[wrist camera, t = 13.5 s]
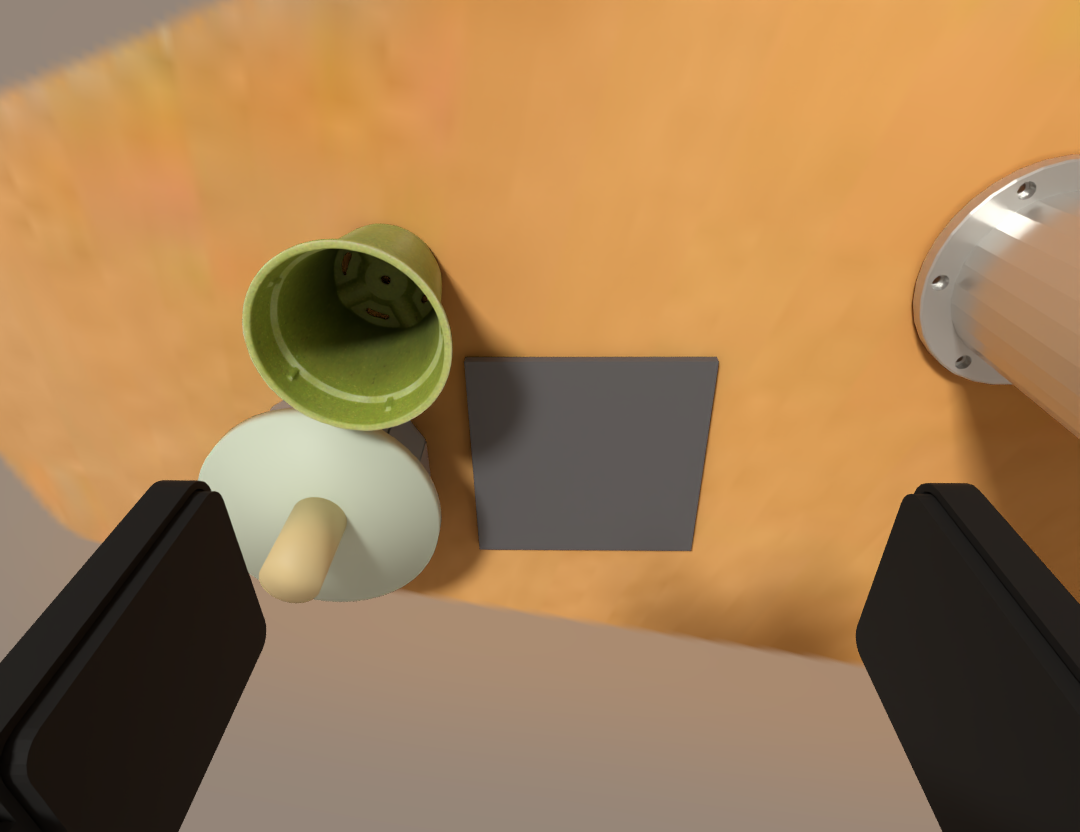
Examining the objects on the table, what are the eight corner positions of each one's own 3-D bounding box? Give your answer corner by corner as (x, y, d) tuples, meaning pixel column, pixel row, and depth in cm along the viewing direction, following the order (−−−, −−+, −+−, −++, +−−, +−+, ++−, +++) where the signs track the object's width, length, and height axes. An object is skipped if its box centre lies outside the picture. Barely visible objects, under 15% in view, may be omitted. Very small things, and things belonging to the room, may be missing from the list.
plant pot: (493, 225, 35) (477, 283, 28) (448, 371, 40) (424, 453, 32) (319, 165, 34) (253, 208, 26) (294, 324, 38) (232, 398, 31)
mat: (716, 357, 39) (718, 361, 38) (689, 544, 47) (690, 550, 46) (465, 357, 39) (464, 361, 39) (480, 543, 47) (479, 549, 47)
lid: (428, 407, 35) (406, 474, 30) (451, 590, 43) (436, 669, 38) (173, 407, 36) (109, 474, 31) (239, 589, 43) (197, 667, 38)
